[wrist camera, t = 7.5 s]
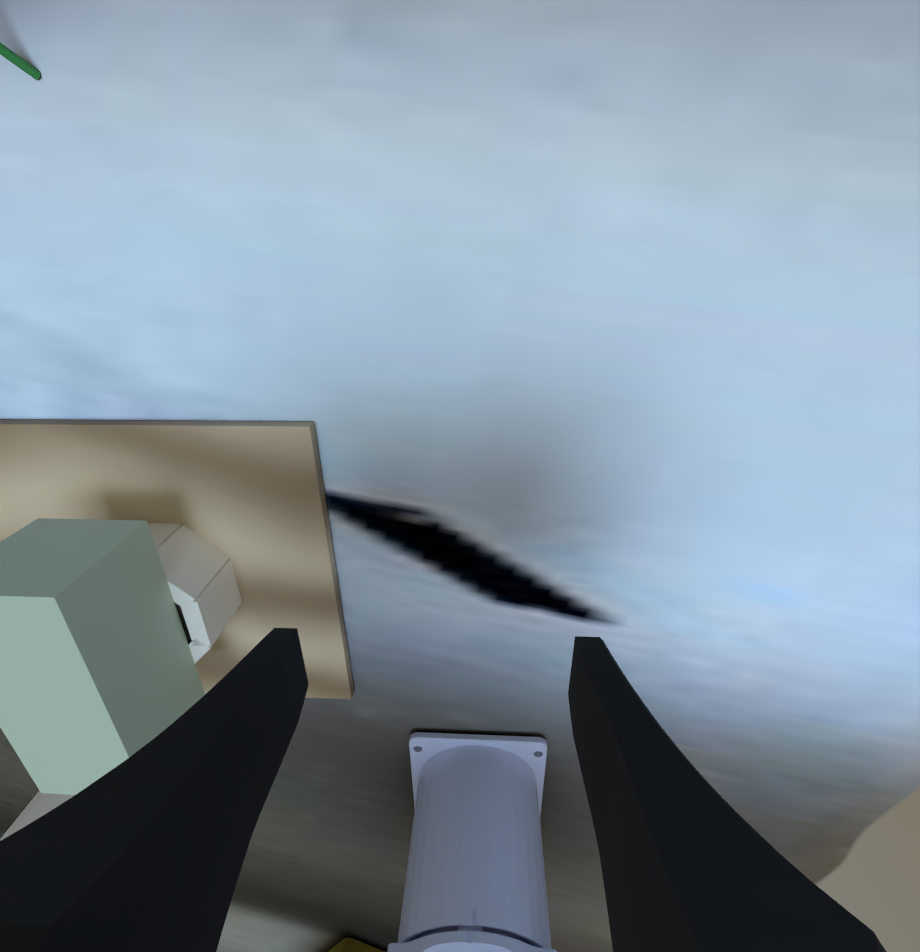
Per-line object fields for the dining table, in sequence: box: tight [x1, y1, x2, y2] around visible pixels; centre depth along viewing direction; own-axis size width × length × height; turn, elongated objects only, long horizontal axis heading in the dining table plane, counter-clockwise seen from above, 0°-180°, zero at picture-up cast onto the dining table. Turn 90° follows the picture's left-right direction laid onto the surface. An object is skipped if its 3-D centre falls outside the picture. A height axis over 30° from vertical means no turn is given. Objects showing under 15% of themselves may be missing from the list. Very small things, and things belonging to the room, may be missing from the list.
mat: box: [0, 419, 354, 699], centre depth 24 cm, size 16×16×1 cm
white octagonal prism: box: [148, 523, 242, 663], centre depth 23 cm, size 6×6×3 cm
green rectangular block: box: [0, 518, 205, 795], centre depth 19 cm, size 10×4×4 cm, turn 0°
